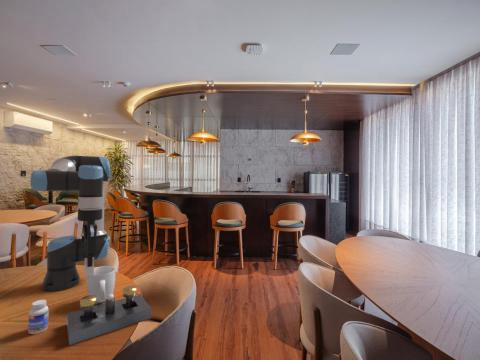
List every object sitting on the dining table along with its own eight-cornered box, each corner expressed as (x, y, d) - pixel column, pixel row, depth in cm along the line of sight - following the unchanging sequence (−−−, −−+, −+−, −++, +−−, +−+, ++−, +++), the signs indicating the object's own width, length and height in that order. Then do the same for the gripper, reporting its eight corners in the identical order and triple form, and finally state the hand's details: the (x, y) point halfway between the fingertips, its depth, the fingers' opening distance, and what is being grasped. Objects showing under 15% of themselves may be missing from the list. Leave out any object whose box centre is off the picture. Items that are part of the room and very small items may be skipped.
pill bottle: (24, 335, 83) (25, 307, 83) (33, 326, 88) (33, 299, 88) (43, 333, 85) (44, 305, 85) (51, 324, 90) (51, 297, 90)
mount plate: (66, 324, 90) (66, 313, 90) (140, 303, 106) (140, 294, 106) (69, 345, 79) (69, 333, 79) (150, 318, 95) (151, 308, 95)
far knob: (121, 302, 97) (121, 287, 97) (134, 299, 100) (135, 284, 100) (124, 308, 93) (124, 292, 93) (138, 304, 96) (138, 289, 96)
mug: (117, 306, 103) (118, 275, 103) (86, 313, 97) (87, 280, 97) (113, 291, 116) (113, 264, 116) (85, 297, 110) (86, 268, 110)
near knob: (78, 314, 88) (79, 297, 88) (95, 309, 92) (95, 293, 92) (80, 321, 84) (80, 303, 84) (97, 316, 88) (98, 299, 87)
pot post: (104, 310, 93) (104, 294, 93) (113, 307, 95) (114, 292, 94) (106, 314, 90) (106, 297, 90) (115, 311, 92) (115, 295, 92)
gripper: (76, 207, 90) (74, 271, 90) (79, 211, 80) (78, 283, 80) (99, 206, 95) (98, 267, 95) (105, 210, 85) (104, 278, 85)
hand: (89, 274), depth 88 cm, fingers closed
